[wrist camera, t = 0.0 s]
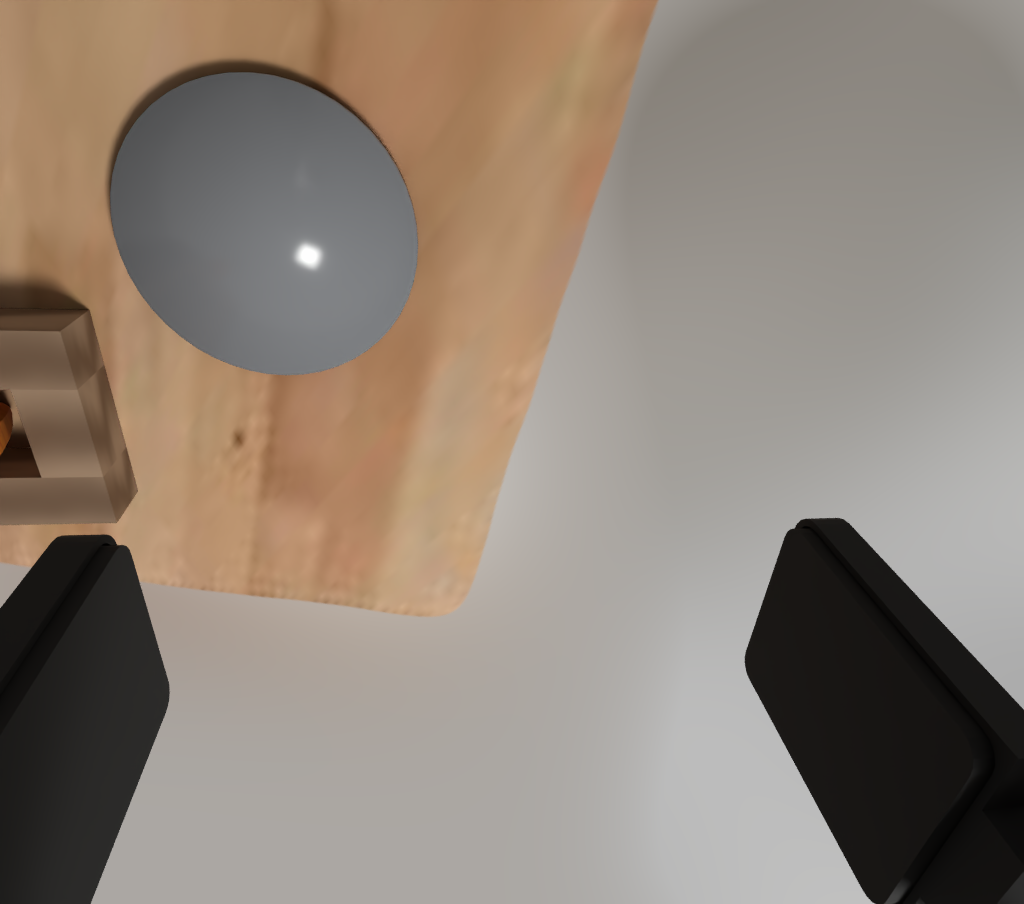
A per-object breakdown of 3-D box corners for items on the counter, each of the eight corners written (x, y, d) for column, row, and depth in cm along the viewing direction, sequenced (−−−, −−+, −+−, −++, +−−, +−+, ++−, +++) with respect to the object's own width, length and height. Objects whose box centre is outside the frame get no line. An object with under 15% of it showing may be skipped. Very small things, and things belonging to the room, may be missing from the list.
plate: (81, 60, 36) (72, 60, 35) (416, 83, 38) (416, 83, 37) (152, 368, 45) (146, 373, 44) (419, 370, 47) (419, 376, 46)
